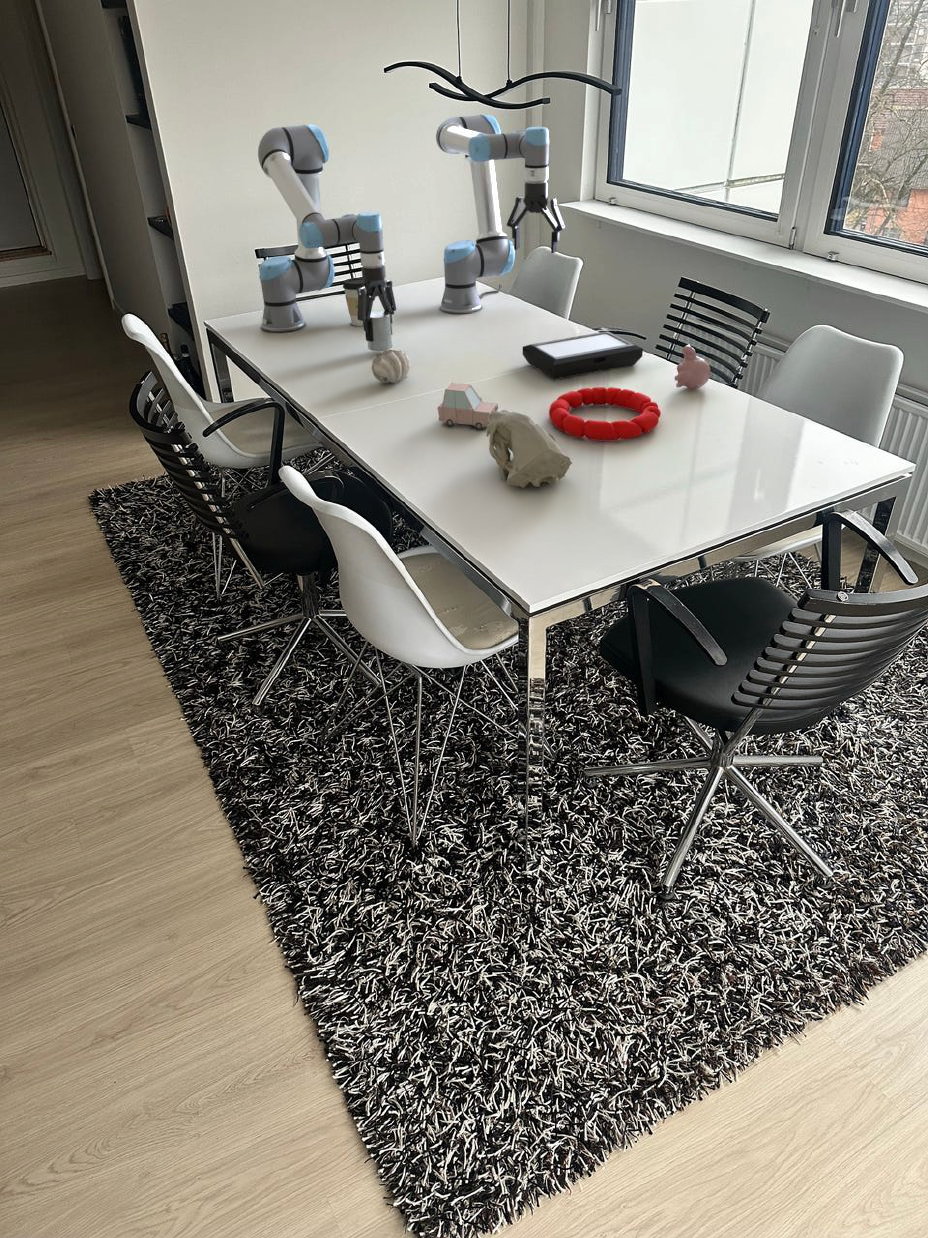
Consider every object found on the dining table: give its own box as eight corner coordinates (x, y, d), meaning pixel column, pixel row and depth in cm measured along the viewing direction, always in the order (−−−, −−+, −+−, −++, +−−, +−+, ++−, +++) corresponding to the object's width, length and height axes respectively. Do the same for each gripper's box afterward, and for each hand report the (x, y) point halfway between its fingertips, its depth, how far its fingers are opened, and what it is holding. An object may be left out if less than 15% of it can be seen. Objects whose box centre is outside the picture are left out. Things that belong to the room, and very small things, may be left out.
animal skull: (496, 517, 219) (521, 479, 201) (463, 429, 225) (484, 384, 207) (557, 503, 225) (586, 465, 206) (523, 417, 231) (549, 373, 212)
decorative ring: (589, 435, 224) (684, 402, 234) (527, 398, 247) (617, 369, 256) (589, 461, 229) (683, 427, 238) (529, 422, 251) (617, 393, 260)
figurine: (665, 387, 264) (669, 347, 257) (693, 380, 268) (698, 340, 261) (686, 396, 257) (690, 355, 250) (714, 388, 262) (720, 348, 255)
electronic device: (553, 362, 266) (522, 343, 282) (552, 382, 270) (522, 363, 285) (643, 345, 277) (609, 328, 292) (641, 365, 280) (607, 347, 295)
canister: (364, 350, 295) (361, 316, 289) (372, 342, 302) (369, 310, 295) (387, 351, 293) (385, 317, 287) (395, 344, 300) (392, 311, 294)
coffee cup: (372, 326, 323) (368, 283, 314) (345, 327, 323) (340, 284, 315) (374, 318, 331) (371, 276, 322) (348, 319, 331) (344, 277, 323)
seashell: (364, 381, 275) (361, 349, 270) (407, 372, 281) (405, 341, 275) (377, 391, 268) (374, 358, 262) (421, 382, 273) (420, 349, 268)
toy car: (488, 432, 240) (488, 396, 234) (436, 426, 244) (434, 390, 239) (499, 419, 247) (499, 384, 241) (448, 413, 252) (447, 379, 246)
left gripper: (357, 274, 274) (364, 347, 287) (404, 260, 287) (409, 331, 300) (340, 270, 279) (348, 343, 291) (388, 257, 291) (393, 327, 304)
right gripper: (496, 181, 291) (497, 249, 303) (567, 185, 281) (565, 255, 293) (506, 177, 297) (506, 245, 309) (576, 181, 287) (573, 251, 299)
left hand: (379, 337), depth 296 cm, fingers closed on canister, 8 cm apart
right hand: (535, 250), depth 301 cm, fingers open, 13 cm apart
